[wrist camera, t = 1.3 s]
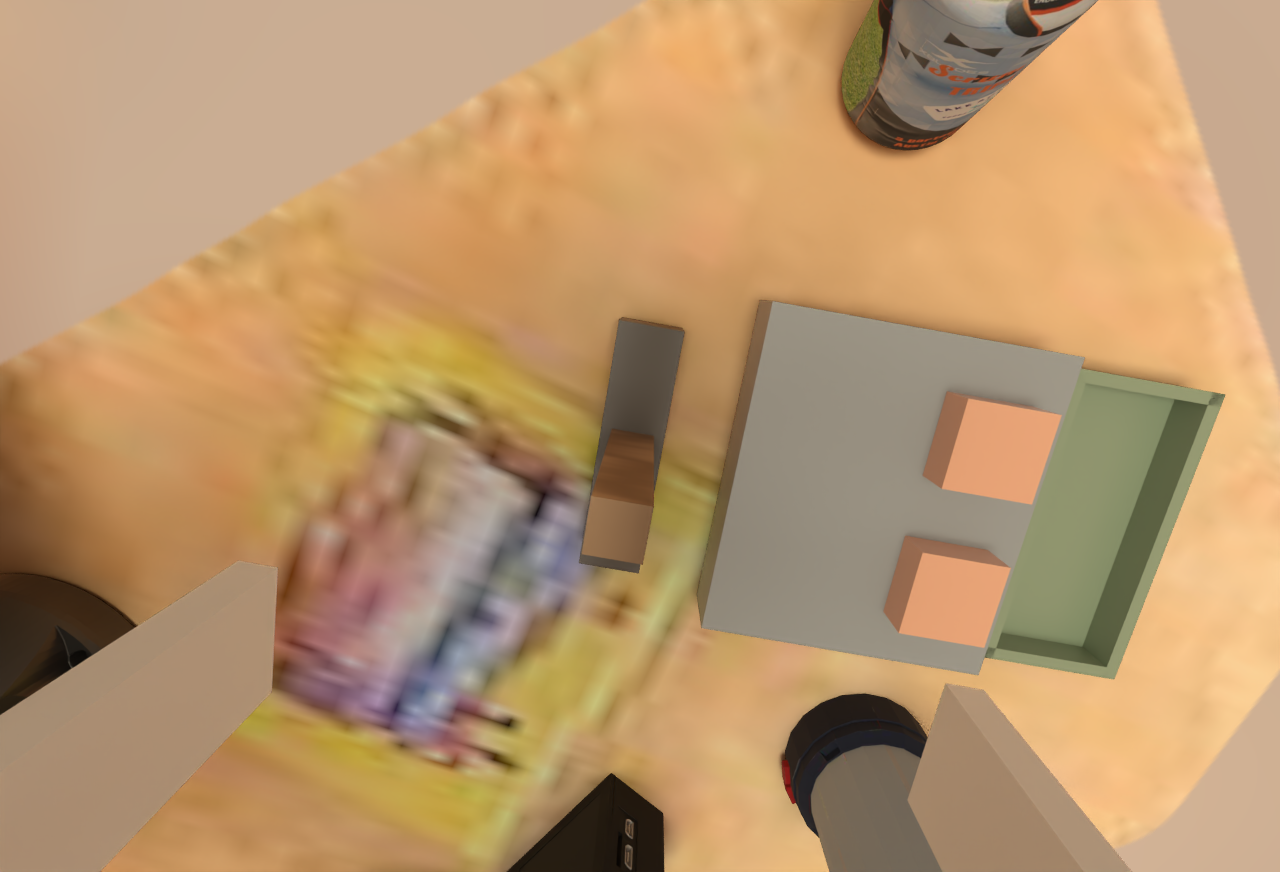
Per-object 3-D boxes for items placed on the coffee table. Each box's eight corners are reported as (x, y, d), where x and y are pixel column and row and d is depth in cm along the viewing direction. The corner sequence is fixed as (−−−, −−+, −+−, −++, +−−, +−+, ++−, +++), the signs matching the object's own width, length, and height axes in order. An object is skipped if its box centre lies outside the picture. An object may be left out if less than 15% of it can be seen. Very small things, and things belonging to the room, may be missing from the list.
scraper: (585, 539, 34) (544, 686, 22) (622, 317, 32) (601, 335, 19) (640, 549, 34) (631, 701, 22) (681, 327, 32) (699, 353, 19)
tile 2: (922, 475, 29) (941, 488, 27) (946, 391, 28) (968, 398, 26) (1006, 490, 29) (1032, 504, 27) (1034, 406, 28) (1061, 415, 27)
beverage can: (863, 180, 30) (998, 110, 18) (803, 23, 28) (907, -164, 17) (992, 116, 29) (1221, 0, 17) (937, -49, 28) (1144, -297, 16)
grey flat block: (696, 594, 35) (701, 627, 31) (759, 299, 31) (772, 301, 28) (946, 637, 35) (978, 675, 32) (1038, 350, 31) (1084, 357, 28)
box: (958, 631, 35) (980, 656, 32) (1044, 361, 31) (1077, 368, 29) (1082, 652, 35) (1114, 679, 33) (1181, 386, 32) (1225, 394, 29)
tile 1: (883, 611, 31) (898, 633, 29) (905, 535, 30) (922, 552, 28) (963, 625, 31) (984, 647, 29) (987, 550, 30) (1010, 567, 28)
